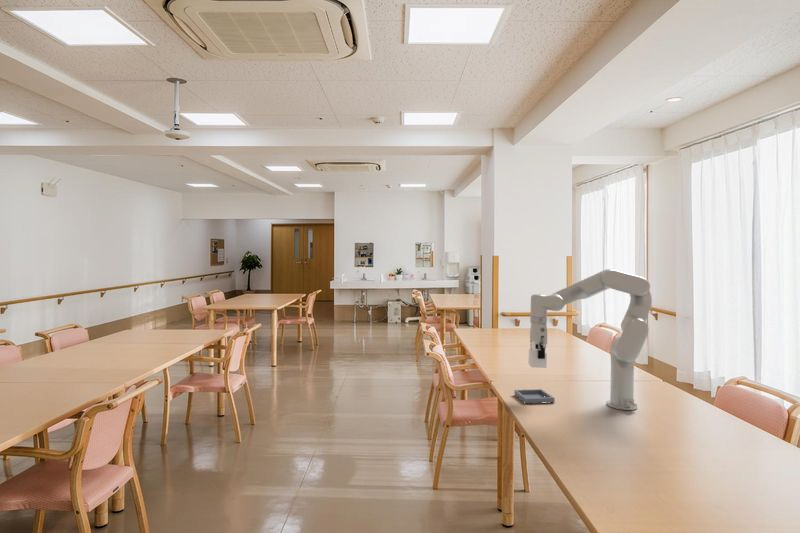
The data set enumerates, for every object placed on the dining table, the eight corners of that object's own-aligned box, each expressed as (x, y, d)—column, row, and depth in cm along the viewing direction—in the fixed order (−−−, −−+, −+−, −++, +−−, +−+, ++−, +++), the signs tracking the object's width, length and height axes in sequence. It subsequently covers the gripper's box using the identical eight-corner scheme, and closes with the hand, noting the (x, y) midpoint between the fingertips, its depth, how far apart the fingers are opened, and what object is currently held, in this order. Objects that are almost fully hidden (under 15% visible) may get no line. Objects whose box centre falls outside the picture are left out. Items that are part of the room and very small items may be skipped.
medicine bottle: (543, 364, 220) (544, 339, 219) (546, 368, 213) (547, 342, 212) (528, 363, 220) (529, 339, 220) (531, 367, 213) (531, 342, 213)
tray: (554, 403, 210) (554, 397, 210) (525, 404, 209) (525, 398, 209) (541, 394, 224) (541, 389, 224) (514, 395, 223) (514, 390, 223)
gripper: (554, 322, 208) (553, 360, 208) (538, 317, 225) (537, 352, 226) (538, 322, 207) (537, 360, 207) (523, 317, 224) (523, 352, 225)
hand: (537, 356), depth 216 cm, fingers closed on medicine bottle, 8 cm apart
